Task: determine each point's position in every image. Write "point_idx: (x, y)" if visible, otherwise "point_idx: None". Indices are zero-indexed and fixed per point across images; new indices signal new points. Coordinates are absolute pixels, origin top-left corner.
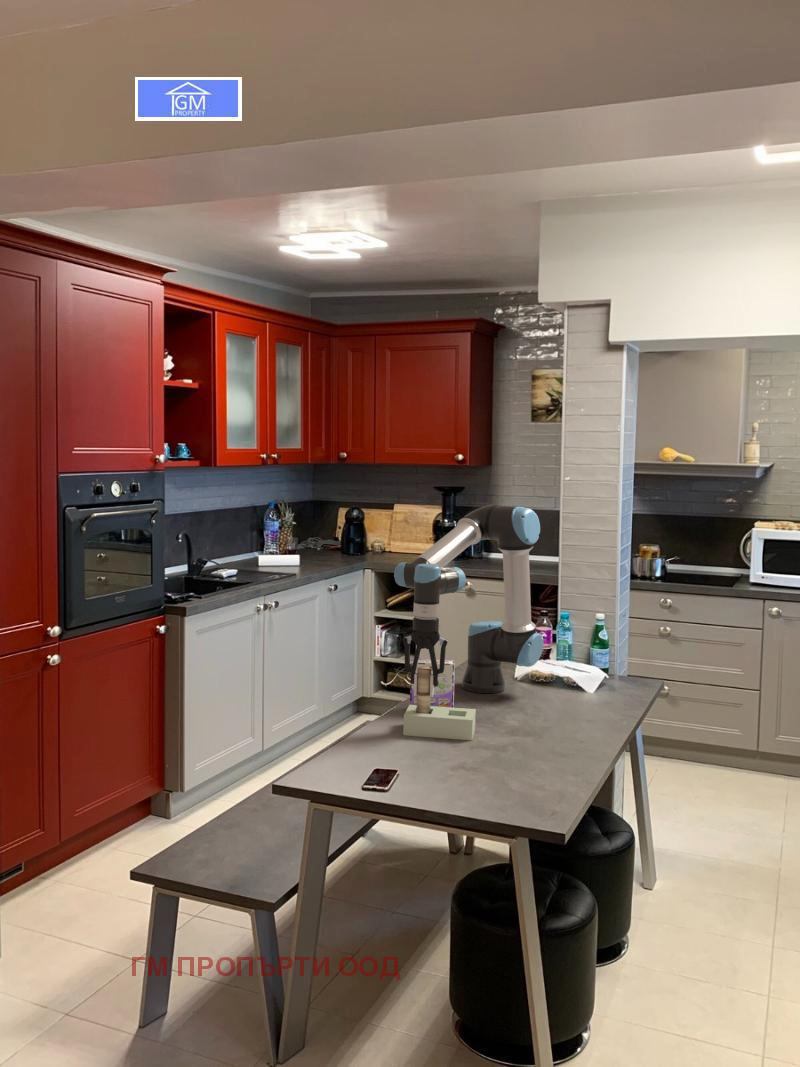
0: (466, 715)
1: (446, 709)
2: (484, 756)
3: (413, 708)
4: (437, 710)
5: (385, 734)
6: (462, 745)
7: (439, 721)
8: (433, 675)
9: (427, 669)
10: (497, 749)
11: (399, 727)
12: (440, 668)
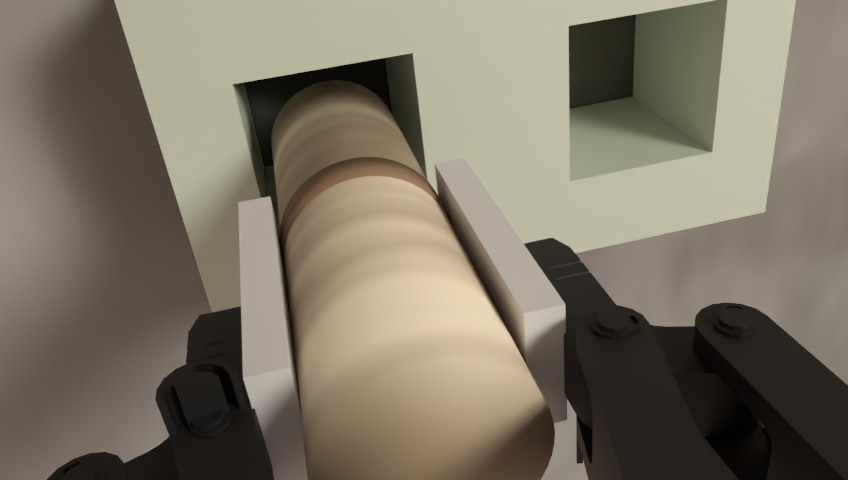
0: (723, 120)
1: (539, 14)
2: None
3: (217, 117)
4: (461, 81)
5: (89, 279)
6: (629, 255)
7: None
8: (564, 386)
9: (499, 477)
10: (816, 232)
11: (104, 85)
12: (733, 467)
